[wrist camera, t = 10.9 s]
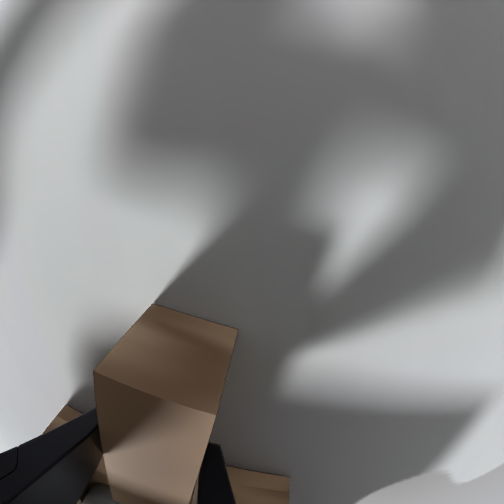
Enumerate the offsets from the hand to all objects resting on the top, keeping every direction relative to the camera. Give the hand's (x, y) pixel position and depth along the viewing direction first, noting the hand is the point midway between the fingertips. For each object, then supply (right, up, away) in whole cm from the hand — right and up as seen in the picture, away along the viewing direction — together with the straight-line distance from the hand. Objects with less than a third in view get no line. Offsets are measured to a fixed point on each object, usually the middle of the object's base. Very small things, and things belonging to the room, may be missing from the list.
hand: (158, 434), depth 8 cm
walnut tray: (-2, -6, +5) cm, 8 cm away
